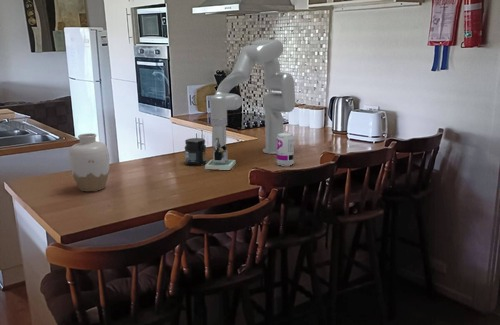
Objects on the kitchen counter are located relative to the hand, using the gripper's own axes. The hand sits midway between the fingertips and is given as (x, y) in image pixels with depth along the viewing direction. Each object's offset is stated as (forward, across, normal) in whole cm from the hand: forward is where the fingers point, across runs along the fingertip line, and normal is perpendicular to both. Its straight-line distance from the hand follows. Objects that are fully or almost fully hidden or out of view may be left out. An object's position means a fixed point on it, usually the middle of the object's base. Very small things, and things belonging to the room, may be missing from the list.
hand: (220, 157), depth 231 cm
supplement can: (+5, -9, +30) cm, 32 cm away
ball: (-3, 0, 0) cm, 3 cm away
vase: (+5, +40, -45) cm, 61 cm away
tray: (+5, 0, 0) cm, 5 cm away
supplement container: (+5, -6, -14) cm, 16 cm away
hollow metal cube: (+4, 0, 0) cm, 4 cm away
